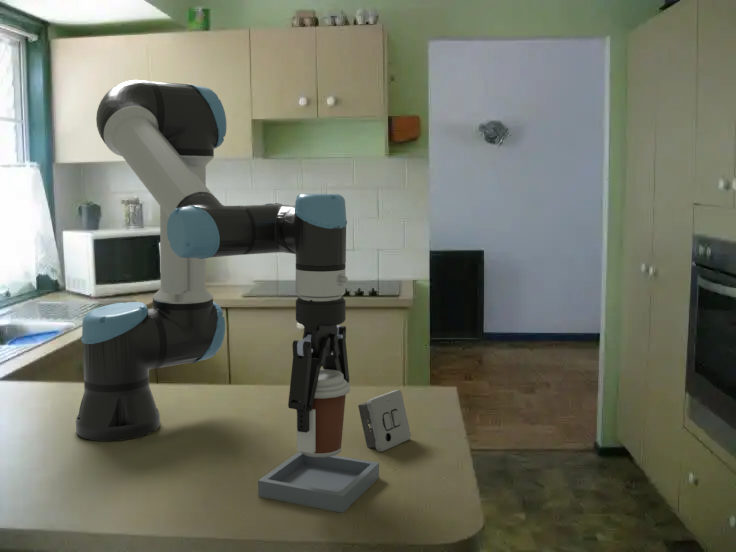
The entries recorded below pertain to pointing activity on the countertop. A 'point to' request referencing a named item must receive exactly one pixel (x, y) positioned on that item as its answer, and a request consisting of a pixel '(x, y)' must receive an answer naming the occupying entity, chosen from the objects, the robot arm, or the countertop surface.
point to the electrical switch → (385, 421)
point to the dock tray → (319, 481)
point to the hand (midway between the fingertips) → (320, 440)
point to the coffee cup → (329, 412)
